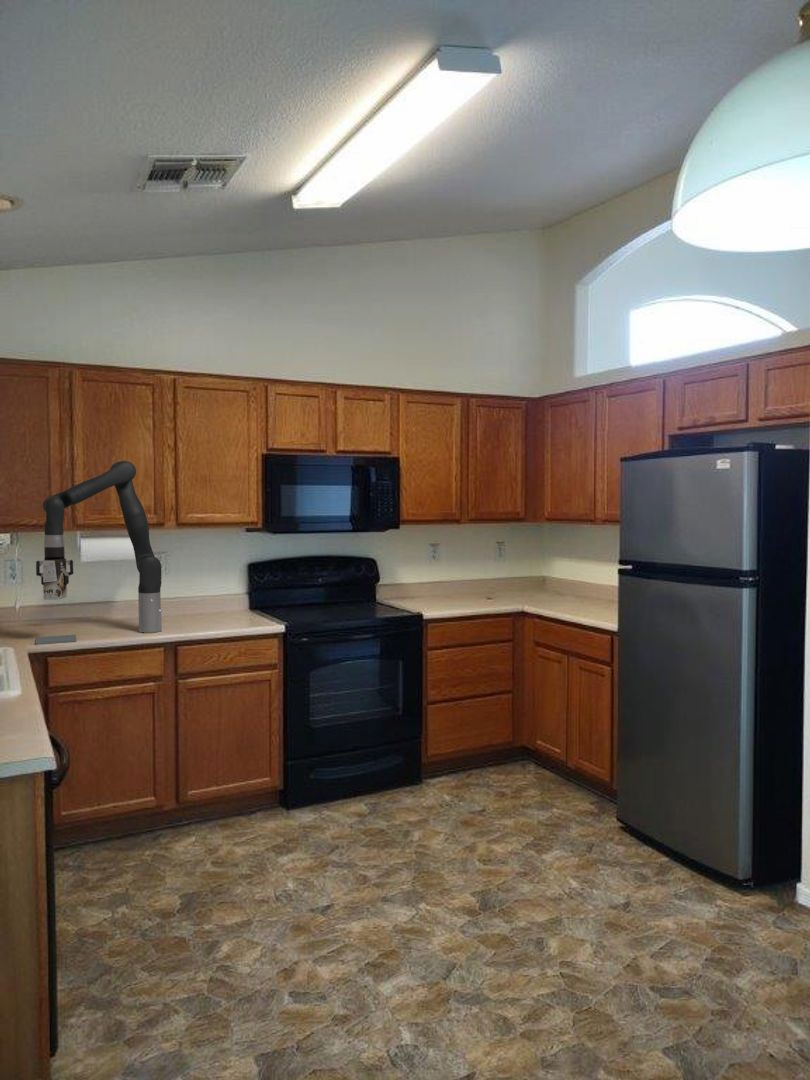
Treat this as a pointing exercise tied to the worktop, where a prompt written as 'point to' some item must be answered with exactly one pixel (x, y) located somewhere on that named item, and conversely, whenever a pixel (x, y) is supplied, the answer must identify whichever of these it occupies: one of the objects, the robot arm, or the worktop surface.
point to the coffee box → (54, 580)
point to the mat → (55, 639)
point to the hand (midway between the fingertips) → (55, 585)
